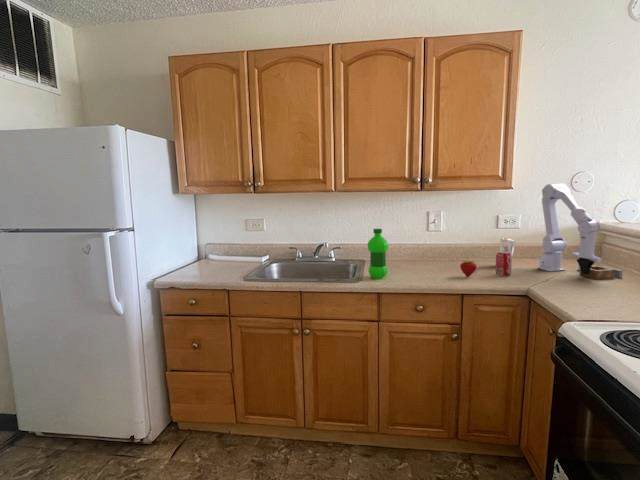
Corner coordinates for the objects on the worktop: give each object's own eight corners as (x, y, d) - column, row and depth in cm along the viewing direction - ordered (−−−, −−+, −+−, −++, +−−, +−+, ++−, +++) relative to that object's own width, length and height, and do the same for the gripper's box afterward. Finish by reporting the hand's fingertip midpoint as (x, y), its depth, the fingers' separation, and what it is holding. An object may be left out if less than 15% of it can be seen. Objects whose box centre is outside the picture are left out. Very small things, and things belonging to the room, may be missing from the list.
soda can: (510, 274, 179) (511, 250, 177) (511, 277, 172) (512, 253, 170) (495, 273, 182) (496, 250, 180) (495, 276, 175) (496, 252, 173)
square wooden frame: (595, 279, 165) (596, 271, 164) (579, 274, 173) (580, 266, 173) (613, 278, 166) (614, 269, 165) (596, 273, 174) (597, 265, 174)
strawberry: (475, 279, 172) (476, 259, 170) (459, 277, 175) (459, 258, 174) (476, 276, 177) (477, 256, 175) (460, 275, 180) (461, 255, 179)
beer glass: (514, 265, 195) (516, 238, 193) (510, 268, 190) (512, 240, 188) (501, 264, 200) (502, 237, 198) (497, 266, 195) (498, 239, 193)
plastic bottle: (371, 274, 188) (370, 227, 184) (390, 276, 183) (390, 228, 179) (365, 279, 179) (364, 230, 175) (385, 281, 174) (385, 230, 170)
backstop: (618, 278, 165) (619, 270, 165) (599, 272, 175) (600, 265, 175) (621, 277, 166) (622, 270, 165) (602, 272, 175) (603, 265, 175)
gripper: (608, 248, 160) (606, 277, 162) (581, 243, 174) (579, 270, 176) (594, 249, 159) (591, 278, 161) (568, 244, 173) (566, 270, 175)
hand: (584, 274), depth 169 cm, fingers closed, pressing on square wooden frame
